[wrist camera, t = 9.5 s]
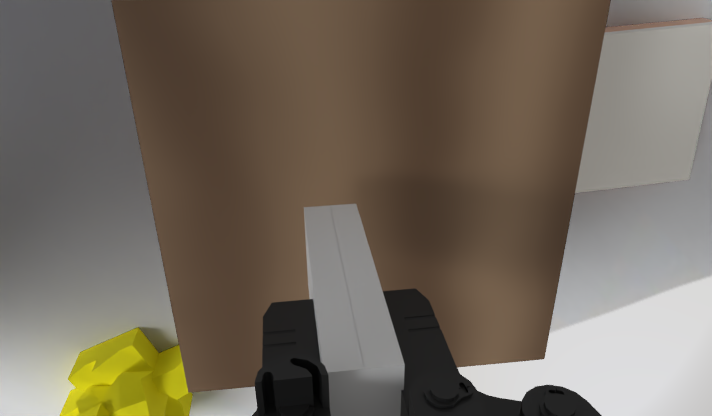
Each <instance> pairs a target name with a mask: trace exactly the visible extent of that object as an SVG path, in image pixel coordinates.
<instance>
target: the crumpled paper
mask: <svg viewBox="0 0 712 416" xmlns="http://www.w3.org/2000/svg"><path fill="white" fill-rule="evenodd" d="M68 380H69V381H70V382H71V383H72V384H73V385H74V386H75V387H76V389H73V390H71V391H70V393H69V396H68V398H67V400H66V402H65V405H64V407H63V409H62V411H61V414H60V416H189V412H190V407H191V401H192V396H193V394H192V393H191V392H190V393H188V388H187V383H186V378H185V373H184V368H183V362H182V357H181V352H180V347H179V345H177V346H174V347H172V348H170V349H167V350H165V351H163V352H160V353H159V352H158V351H157V350H156V348H155V347H154V346H153V345H152V343H151V342H150V341H149V340H148V339H147V337H146V336H145V335H144V334H143V332H142V331H141V330H140V329H139V327H138V328H135V329H133V330H131V331H128V332H126V333H124V334H121V335H119V336H117V337H114V338H112V339H110V340H107V341H105V342H103V343H100V344H98V345H96V346H93V347H91V348H89V349H87V350H84V351H82V352H80V354H79V356H78V358H77V360H76V362H75V365H74V367H73V369H72V371H71V373H70V376H69V378H68Z"/></svg>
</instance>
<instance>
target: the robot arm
mask: <svg viewBox="0 0 712 416" xmlns="http://www.w3.org/2000/svg"><path fill="white" fill-rule="evenodd" d="M304 221H305V238H306V255H307V272H308V288H309V298H310V299H306V300H295V301H284V302H273V303H271V305H270V306H269V308H268V309H267V311H266V313H265V314H264V316H263V344H262V345H263V348H262V368H261V369H260V370H259V371H258V372H257V376H256V379H255V391H256V399H257V407H258V408H257V410H256V412H255V413H254V414H253V415H252V416H601V415H600V414H599V413H598V412H597V411H596V410H595V409H594V408H593V407H592V406H591V404H590V403H589V402H587V401H586V400H585V399H584V398H582V397H581V396H580V395H578V394H577V393H576V392H573V391H571V390H569V389H566V388H563V387H560V386H553V385H544V386H537V387H535V388H533V389H531V390H530V391H528V392H527V393H526V394H525V396H524V398H523V400H522V401H515V400H509V399H502V398H497V397H492V396H488V395H486V394H483V393H481V392H479V391H477V390H476V389H475V387H474V386H473V385H472V383H471V382H470V381H469V380H468V379H466V378H464V377H463V376H462V375H460V373H459V371H458V369H457V367H456V364H455V362H454V359H453V357H452V355H451V352H450V350H449V347H448V345H447V342H446V340H445V338H444V335H443V333H442V330H441V329H440V326H439V323H438V321H437V318H436V317H435V314H434V311H433V309H432V306H431V304H430V301H429V300H428V299H427V298H426V297H425V296H424V295H423V294H421V293H420V292H419V291H418V290H417V289H416V288H414V289H402V290H391V291H382V288H381V284H380V281H379V278H378V274H377V271H376V268H375V264H374V261H373V258H372V254H371V251H370V248H369V245H368V241H367V238H366V235H365V231H364V228H363V225H362V221H361V218H360V215H359V211H358V208H357V205H356V204H343V205H329V206H315V207H304Z"/></svg>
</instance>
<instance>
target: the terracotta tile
mask: <svg viewBox="0 0 712 416" xmlns="http://www.w3.org/2000/svg"><path fill="white" fill-rule="evenodd" d="M711 80H712V20H709V19H705V18H696V19H686V20H675V21H665V22H655V23H645V24H635V25H624V26H614V27H606V28H605V33H604V39H603V44H602V49H601V55H600V60H599V66H598V71H597V77H596V82H595V87H594V93H593V98H592V104H591V109H590V114H589V120H588V125H587V131H586V136H585V141H584V147H583V152H582V158H581V163H580V168H579V174H578V179H577V185H576V190H575V193H582V192H591V191H599V190H607V189H616V188H624V187H633V186H641V185H650V184H658V183H667V182H675V181H683V180H689V178H690V174H691V170H692V165H693V161H694V156H695V152H696V147H697V143H698V138H699V134H700V129H701V125H702V121H703V116H704V112H705V107H706V103H707V98H708V94H709V89H710V85H711Z"/></svg>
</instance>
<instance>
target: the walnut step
mask: <svg viewBox="0 0 712 416" xmlns="http://www.w3.org/2000/svg"><path fill="white" fill-rule="evenodd" d="M610 1H611V0H112V7H113V12H114V17H115V22H116V27H117V32H118V37H119V42H120V47H121V52H122V57H123V63H124V68H125V73H126V78H127V83H128V88H129V93H130V98H131V103H132V108H133V113H134V118H135V124H136V129H137V134H138V139H139V144H140V149H141V154H142V159H143V164H144V169H145V174H146V179H147V185H148V190H149V195H150V200H151V205H152V210H153V215H154V220H155V225H156V230H157V235H158V240H159V246H160V251H161V256H162V261H163V266H164V271H165V276H166V281H167V286H168V291H169V296H170V301H171V307H172V312H173V317H174V322H175V327H176V332H177V337H178V342H179V347H180V352H181V357H182V362H183V368H184V373H185V378H186V383H187V388H188V393H190V392H200V391H211V390H222V389H232V388H243V387H253V386H255V379H256V376H257V372H258V371H259V370H260V369H261V368H262V348H263V345H262V344H263V316H264V314H265V313H266V311H267V309H268V308H269V306H270V305H271V303H273V302H284V301H295V300H306V299H310V298H309V288H308V272H307V255H306V238H305V221H304V207H315V206H329V205H343V204H356V205H357V208H358V211H359V215H360V218H361V221H362V225H363V228H364V231H365V235H366V238H367V241H368V245H369V248H370V251H371V254H372V258H373V261H374V264H375V268H376V271H377V274H378V278H379V281H380V284H381V288H382V291H391V290H402V289H414V288H416V289H417V290H418V291H419V292H420V293H421V294H423V295H424V296H425V297H426V298H427V299H428V300H429V301H430V304H431V306H432V309H433V311H434V314H435V317H436V318H437V321H438V323H439V326H440V329H441V330H442V333H443V335H444V338H445V340H446V342H447V345H448V347H449V350H450V352H451V355H452V357H453V359H454V362H455V364H456V367H465V366H475V365H486V364H496V363H508V362H518V361H529V360H539V359H544V357H545V352H546V347H547V341H548V336H549V330H550V325H551V320H552V314H553V309H554V303H555V298H556V293H557V287H558V282H559V276H560V271H561V266H562V260H563V255H564V249H565V244H566V239H567V233H568V228H569V222H570V217H571V212H572V206H573V201H574V195H575V190H576V185H577V179H578V174H579V168H580V163H581V158H582V152H583V147H584V141H585V136H586V131H587V125H588V120H589V114H590V109H591V104H592V98H593V93H594V87H595V82H596V77H597V71H598V66H599V60H600V55H601V49H602V44H603V39H604V33H605V28H606V22H607V17H608V12H609V6H610Z"/></svg>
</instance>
